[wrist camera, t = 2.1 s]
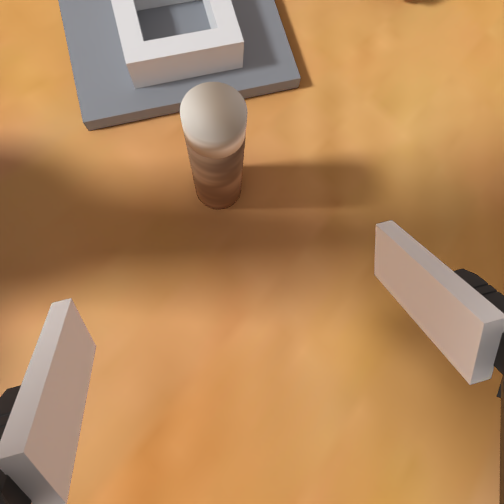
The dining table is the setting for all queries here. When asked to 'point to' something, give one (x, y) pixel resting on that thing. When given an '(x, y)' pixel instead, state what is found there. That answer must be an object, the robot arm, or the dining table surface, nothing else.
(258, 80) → the socket board
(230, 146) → the cream round-topped cylinder
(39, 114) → the dining table surface
